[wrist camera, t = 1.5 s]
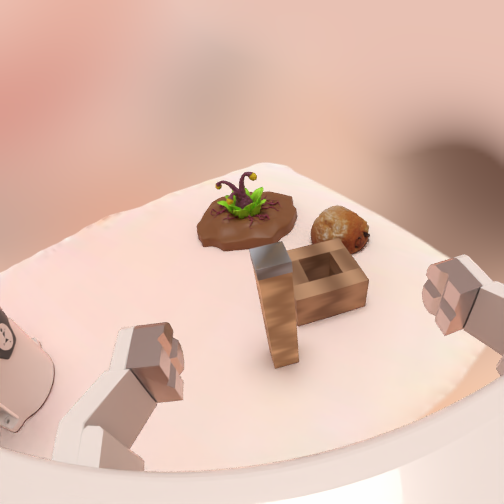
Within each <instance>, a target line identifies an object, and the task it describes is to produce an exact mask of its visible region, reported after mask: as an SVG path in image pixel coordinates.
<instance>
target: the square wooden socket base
mask: <svg viewBox="0 0 504 504" xmlns="http://www.w3.org/2000/svg"><path fill="white" fill-rule="evenodd" d="M287 253H288V255H289V257H290V259H291V261H292V270H293V272H292V277H293V289H294V301H295V313H296V322H297V325H298V326H300V325H304V324H307V323H311V322H314V321H317V320H321V319H324V318H328V317H331V316H334V315H337V314H341V313H344V312H347V311H350V310H353V309H357V308H360V307H363V306H365V303H366V297H367V290H368V283H369V279H368V278H367V276H366V275H365V274H364V272H363V271H362V269H361V268H360V266H359V265H358V264H357V262H356V261H355V260H354V258H353V257H352V255H351V254H350V253H349V251H348V250H347V249H346V247H345V246H344V244H343V243H342V242H341V240H340V239H339V238H337V239H333V240H329V241H325V242H320V243H316V244H312V245H308V246H304V247H300V248H296V249H292V250H288V251H287Z"/></svg>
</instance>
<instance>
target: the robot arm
mask: <svg viewBox="0 0 504 504" xmlns="http://www.w3.org/2000/svg"><path fill="white" fill-rule="evenodd" d="M426 276H427V278H428V280H427V282H426V283H425V284H424V286H423V291H422V299H423V303H424V306H425V308H426V309H427V311H428V312H429V313H431V314H433V315H435V316H436V317H435V322H436V324H437V325H438V327H439V328H440V330H441V331H442V333H443V334H444V336H446V335H448V334H451V333H454V332H456V331H459V330H461V329H464V331H466V332H468V333H469V334H471V335H472V336H474V337H475V338H477V339H478V340H480V341H481V342H483V343H484V344H486V345H487V346H489V347H490V348H492V349H493V350H495V351H496V352H498V353H499V354H500V355H502V356H503V357H502V358H501V360H500V361H499V363H498V364H497V367H496V369H497V371H498V373H499V374H500V377H499V378H497V379H496V380H494V381H492V382H491V383H489V384H487V385H486V386H484V387H483V388H481V389H479V390H477V391H475V392H474V393H472V394H470V395H469V396H466V397H465V398H463V399H461V400H459V401H457V402H455V403H453V404H451V405H449V406H447V407H445V408H443V409H441V410H439V411H437V412H435V413H432V414H430V415H428V416H426V417H424V418H421V419H419V420H417V421H414V422H412V423H410V424H407V425H405V426H402V427H400V428H397V429H394V430H392V431H389V432H386V433H384V434H381V435H378V436H375V437H372V438H369V439H366V440H363V441H360V442H357V443H354V444H350V445H347V446H344V447H340V448H336V449H333V450H329V451H325V452H321V453H317V454H313V455H309V456H304V457H300V458H295V459H290V460H285V461H279V462H273V463H267V464H261V465H254V466H247V467H238V468H229V469H218V470H204V471H178V472H157V471H144V460H143V459H142V458H141V457H140V456H138V455H137V454H135V453H134V452H133V451H131V450H130V448H131V446H132V444H133V443H134V441H135V440H136V438H137V436H138V435H139V433H140V431H141V430H142V428H143V427H144V425H145V423H146V422H147V420H148V419H149V417H150V415H151V414H152V412H153V410H154V409H155V407H156V406H157V403H160V402H170V401H179V400H183V385H184V381H183V380H182V378H181V376H180V374H181V373H182V371H183V370H184V357H183V351H182V348H181V345H180V343H179V341H178V340H177V339H175V338H173V329H172V328H171V326H170V324H169V323H167V322H164V323H156V324H147V325H139V326H134V327H124V328H121V329H120V330H119V332H118V335H117V339H116V343H115V347H114V351H113V355H112V359H111V363H110V368H109V371H104V372H103V373H102V375H101V376H100V377H99V378H98V379H97V380H96V381H95V382H94V383H93V384H92V386H91V387H90V388H89V389H88V390H87V391H86V392H85V393H84V395H83V396H82V397H81V398H80V399H79V400H78V401H77V402H76V403H75V405H74V406H73V407H72V408H71V409H70V410H69V411H68V413H67V414H66V415H65V416H64V417H63V418H62V419H61V420H60V422H59V425H58V430H57V434H56V439H55V444H54V449H53V454H52V459H51V460H49V459H44V458H40V457H35V456H31V455H27V454H23V453H20V452H16V451H13V450H9V449H6V448H3V447H0V504H504V284H502V283H500V282H497V281H495V282H493V281H492V280H491V279H490V278H489V277H488V276H487V275H486V274H485V273H484V272H483V270H482V269H481V268H479V266H478V265H477V264H476V263H475V262H474V261H473V260H472V259H471V258H470V257H468V256H467V255H464V254H463V255H460V256H457V257H454V258H451V259H448V260H445V261H441V262H438V263H435V264H431V265H430V266H429V267H428V269H427V273H426ZM53 377H54V367H53V362H52V360H51V358H50V356H49V355H48V354H47V353H46V352H44V351H43V350H42V348H41V344H40V342H39V341H38V340H37V339H36V338H30V337H29V336H28V335H27V334H26V333H25V332H24V331H23V330H22V329H21V328H20V327H19V326H18V325H17V324H16V323H15V322H14V321H13V320H12V319H11V318H8V317H7V316H6V315H5V313H4V312H3V311H2V309H1V307H0V426H1V427H3V428H5V429H7V430H10V431H12V432H16V431H18V430H19V428H20V427H21V426H22V424H23V423H24V421H25V420H26V419H27V418H28V417H29V416H31V415H32V414H33V413H35V412H36V411H37V410H38V409H39V408H40V406H41V405H42V404H43V403H44V401H45V399H46V398H47V396H48V394H49V391H50V389H51V386H52V382H53Z"/></svg>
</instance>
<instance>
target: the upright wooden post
mask: <svg viewBox="0 0 504 504" xmlns="http://www.w3.org/2000/svg"><path fill="white" fill-rule="evenodd" d="M249 251H250V256H251V261H252V264H253V268H254V273H255V278H256V284H257V289H258V294H259V299H260V304H261V309H262V314H263V319H264V324H265V329H266V334H267V339H268V344H269V349H270V353H271V356H272V359H273V363H274V366H275V368H279V367H283V366H286V365H290V364H294V363H297V362H299V355H298V340H297V326H296V313H295V301H294V289H293V277H292V272H293V270H292V261H291V259H290V257H289V255H288V253H287V251H286V249H285V246H284V244H283V242H282V241H281V242H277V243H273V244H268V245H264V246H260V247H256V248H252V249H249Z"/></svg>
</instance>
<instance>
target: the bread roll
mask: <svg viewBox="0 0 504 504" xmlns="http://www.w3.org/2000/svg"><path fill="white" fill-rule="evenodd" d="M368 229H369V226H368V225H367V222H366V221H365V220H364V219H362V218H361V217H359V216H358V215H357V214H356V213H354V212H352V211H351V210H349V209H347V208H345V207H343V206H332V207H330V208H328V209H326V210H324V211H323V212H322V213H321V214H320V215H319V217H317V218H316V220H315V221H314V224H313V226H312V229H311V240H312V243H313V244H316V243H320V242H325V241H329V240H333V239H337V238H339V239H340V240H341V242H342V243H343V244H344V246H345V247H346V249H347V250H348V251H349V253H350V254H352V253H355V252H357V251H359V250H360V249H361V248H363V247H364V245H365V244H366V242H367V240H368V237H369V236H370V234H368Z"/></svg>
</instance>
